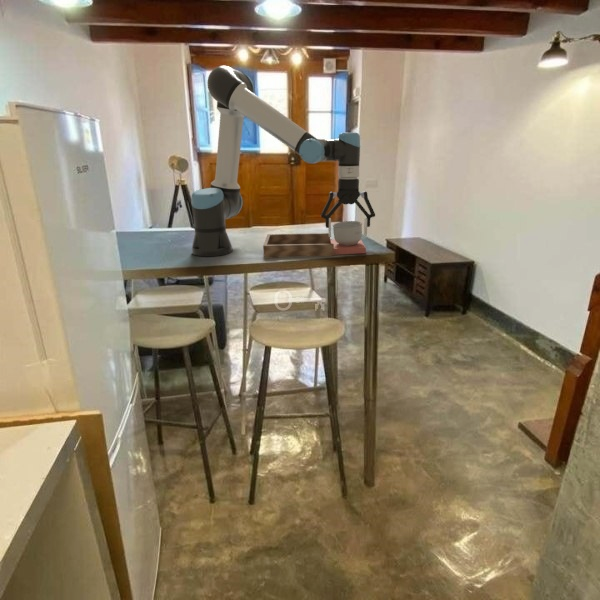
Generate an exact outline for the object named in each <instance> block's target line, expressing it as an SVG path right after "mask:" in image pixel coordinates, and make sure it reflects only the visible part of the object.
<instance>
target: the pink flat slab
mask: <svg viewBox="0 0 600 600" xmlns="http://www.w3.org/2000/svg"><path fill="white" fill-rule="evenodd" d="M330 244H334V255H350V254H351V255H354V254H355V255H358V254H367V247H366V246H365V244H364V242H363V241H362V239H361V240H360V241H359V242H358V243H357V244H355V245H350V246H342V245H340V244H339V243H337V242H336V241H335V238H330Z"/></svg>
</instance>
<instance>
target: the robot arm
mask: <svg viewBox="0 0 600 600" xmlns="http://www.w3.org/2000/svg"><path fill="white" fill-rule="evenodd" d="M206 84H207V89H208V93H209V94H210V96H211V97H212V98H213V99H214V101H216V109H217V111H218V112H219V114H220V116H219V118H220V119H219V128H218V141H217V153H216V162H215V163H216V165H215V166H216V167H215V175H214V176H215V177H214V179H213V181H211V182H210V186H209V187H206V188H203V189H202V188H201V189H198V190H195V191H193V192H192V193H191V196H190V197H191V201H190V204H191V208H192V209H191V210H192V211H191V212H192V219H193V227H194V235H193V236H194V237H193V242H192V246H191V250H192V251H191V253H192V254H193V255H194V256H197V257H218V256H223V255H224V256H225V255H228V254H230V253H232V252H233V245H232V242H231V240H230V237H229V235H228V232H227V228H226V220H229V219H232V218H234V217H235V216H237V215H238V214H239V213H240V211H241V210H242V207H243V204H244V203H243V201H244V200H243V196H242V195H241V186H240V184H239V183H238V176H239V166H240V156H241V148H242V147H241V146H242V136H243V126H244V119H245V118H247V119H248V120H250V121H251V122H252V123H254V124H255V125H257V126H258V127H259V128H261V129H263V130H264V131H265V132H267V133H268V134H269V135H271V136H272V137H274V138H275V139H277V140H278V141H279V142H281V143H282V144H283V145H285V146H286V147H288V148H289V149H291V150H292V151H293V152H294V153H296V154H297V155H298V156H299V157H300V158H301V159H302V161H304V162H306V164H318V163H321V162H338V165H337V166H338V170H337V171H338V172H337V173H338V174H337V175H338V178H339V179H338V180H337V182H338V183H337V184H338V185H337V187H338V190H337V192H333V191H330V192H329V194H328V200H327V202H326V203H325V206H324V208H323V209H322V212H321V214H320V217H321V218H322V219H325V228H327V229H328V231H327V233H328V236H329V237H330V238H332V218H331V216H333V214H334V213H335V212H336V211H337V210H338V208H339V207H340V206H341V205H342V204H343V205H354V204H355V205H356V206H357V207H358V208H359V210H360V211H361V212H362V213H363V214H364V216H365V217H364V218H363V219H364V221H363V222H364V223H363V236H364V237H367V236H368V228H370V227H371V219H373V218H375V217H376V213H375V211H374V208H373V206H372V204H371V202H370V200H369V198H368V192H367V191H366V190H364V191H361V192H360V191H359V189H360V187H359V186H360V180H359V177H360V158H361V157H360V156H361V137H360V136H361V135H360V134H359V133H358V132H340V133H339V134H338V137H337V138H334V139H333V138H332V139H331V138H324V139H321V138H316V136H314V135H313V134H311V133H310V132H308V131H306V130H305V129H304V128H303V127H301V126H300V125H298V124H297V123H296V122H294V121H293V120H291V119H290V118H289V117H287V116H285V114H283V113H282V112H280V111H279V110H277V109H276V108H275V107H273V106H271V105H270V104H269V103H267V102H266V101H265V100H264V99H262V98H261V97H259V96H258V95H257V94H255V93H256V91H255V85H254V82H253V80H252V79H251V77H250V76H248V75H247V74H246V73H245V72H243V71H242V70H238V69H236V68H233V67H230V66H227V65H219V66H217V67H215V68H213V69H212V71H211V72H210V73H209V74H208V76H207V82H206ZM336 197H337V198H338V201H337V202H336V203H335V205H333V206H332V208H331V209H330V210H329V207H330V205H331V204H332V202H333V199H335V198H336ZM360 197H361V198H363V200H364V202H365V204H366V207H367V209H368V211H369V213H368V211H367V210H366V209H365V208H364V206H362V204H361V203H360V202H359V200H358V199H359V198H360ZM328 210H329V212H328Z"/></svg>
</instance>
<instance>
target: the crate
mask: <svg viewBox="0 0 600 600" xmlns="http://www.w3.org/2000/svg"><path fill="white" fill-rule="evenodd" d="M330 239H331V237H329V236H328V232H320V233H318V232H316V233H315V232H313V233H267V234H266V237H265V239H264V240H265V241H264V242H263V245H262V247H263V259H267V257H268V259H270V257H272V259H273V258H280V257H281V258H285V257H287V258H288V257H289V258H290V257H291V258H292V257H293V258H294V257H334V244H330Z"/></svg>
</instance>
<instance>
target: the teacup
mask: <svg viewBox="0 0 600 600" xmlns="http://www.w3.org/2000/svg"><path fill="white" fill-rule="evenodd" d="M362 225H363V223H362V221H359V220H358V221H357V220H345V221H339V222H336V223H335V222H334V224H332V229H333V236H334V237H333V239H335V241H336V242H337V243H339V244H340V245H342V246H350V245H355V244H357V243H358V242H359V241H360V240H362V237H363V230H362V229H363V228H362Z"/></svg>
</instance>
